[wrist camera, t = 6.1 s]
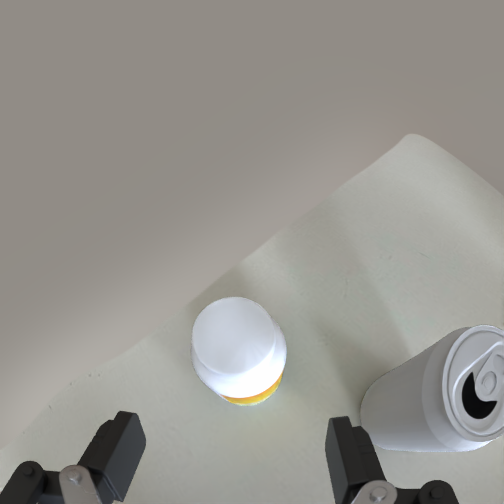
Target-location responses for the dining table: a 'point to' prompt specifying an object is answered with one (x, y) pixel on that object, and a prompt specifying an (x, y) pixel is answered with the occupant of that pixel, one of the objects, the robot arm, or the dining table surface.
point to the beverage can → (441, 396)
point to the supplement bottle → (238, 350)
